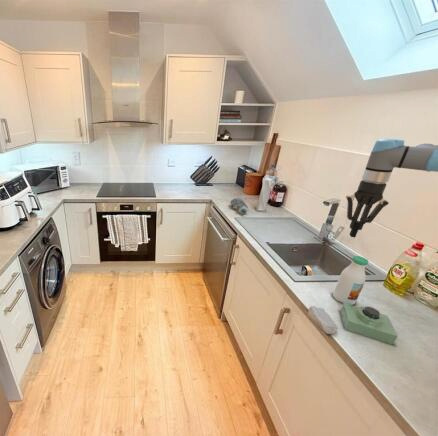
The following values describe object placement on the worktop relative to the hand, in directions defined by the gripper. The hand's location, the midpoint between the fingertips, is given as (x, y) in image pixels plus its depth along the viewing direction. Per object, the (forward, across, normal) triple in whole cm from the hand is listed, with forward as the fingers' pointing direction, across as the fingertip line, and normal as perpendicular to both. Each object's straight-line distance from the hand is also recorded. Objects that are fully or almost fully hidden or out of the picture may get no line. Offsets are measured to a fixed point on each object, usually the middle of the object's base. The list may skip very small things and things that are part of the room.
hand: (352, 235), depth 100 cm
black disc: (+19, -6, +25) cm, 32 cm away
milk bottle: (+25, -2, +11) cm, 27 cm away
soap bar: (+25, +8, +32) cm, 41 cm away
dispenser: (+24, -6, +25) cm, 36 cm away
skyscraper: (+25, +39, -83) cm, 95 cm away
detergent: (+25, +54, -73) cm, 94 cm away
